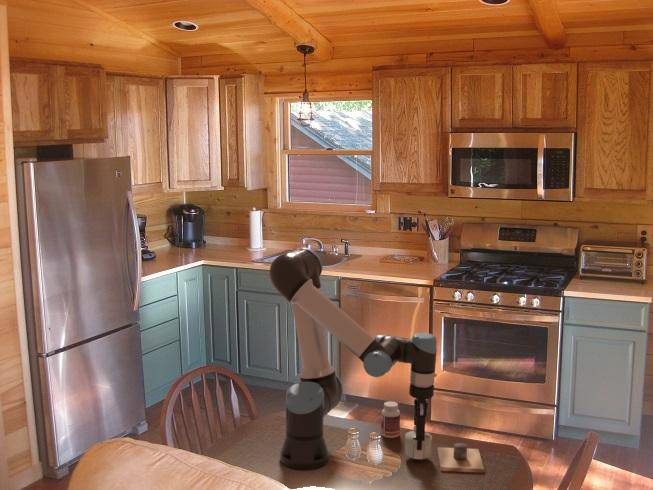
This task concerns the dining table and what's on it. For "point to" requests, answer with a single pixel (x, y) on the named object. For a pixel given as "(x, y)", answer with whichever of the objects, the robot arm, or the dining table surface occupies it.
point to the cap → (411, 444)
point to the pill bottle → (390, 420)
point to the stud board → (457, 464)
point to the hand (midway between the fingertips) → (417, 452)
